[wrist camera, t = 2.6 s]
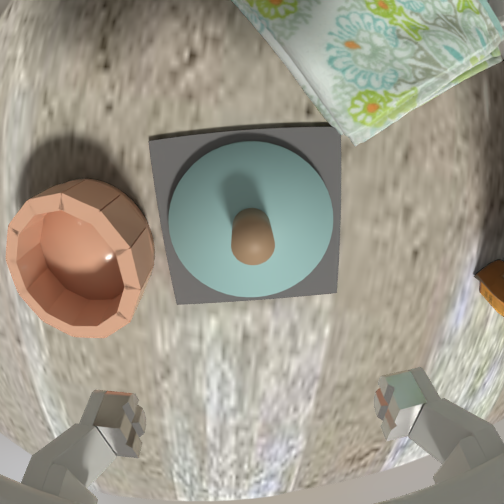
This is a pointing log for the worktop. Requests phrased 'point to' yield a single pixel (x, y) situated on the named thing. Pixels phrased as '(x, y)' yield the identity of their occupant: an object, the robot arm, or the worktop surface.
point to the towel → (377, 53)
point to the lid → (250, 219)
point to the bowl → (81, 257)
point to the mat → (195, 146)
